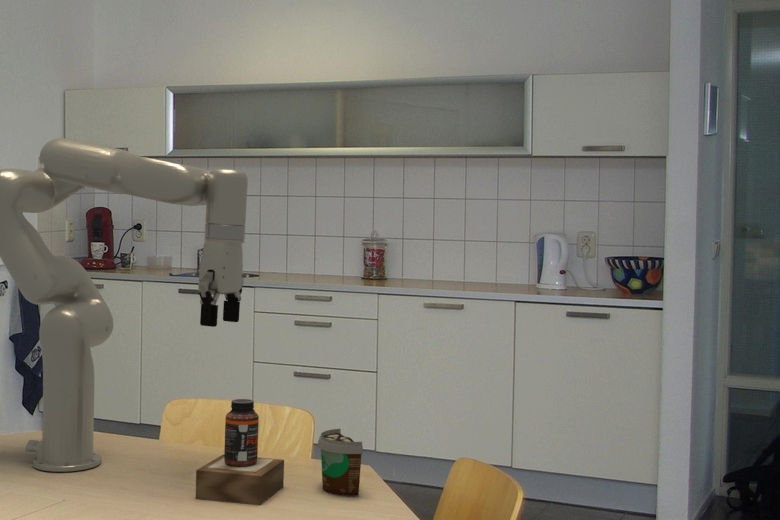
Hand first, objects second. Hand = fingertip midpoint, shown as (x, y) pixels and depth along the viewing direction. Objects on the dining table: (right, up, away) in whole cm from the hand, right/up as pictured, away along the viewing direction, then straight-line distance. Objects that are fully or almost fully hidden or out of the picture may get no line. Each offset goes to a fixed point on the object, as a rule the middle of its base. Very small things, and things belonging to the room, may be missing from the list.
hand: (219, 323), depth 179 cm
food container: (+22, -30, -7) cm, 38 cm away
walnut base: (+6, -30, -11) cm, 32 cm away
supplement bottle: (+6, -25, -11) cm, 27 cm away
